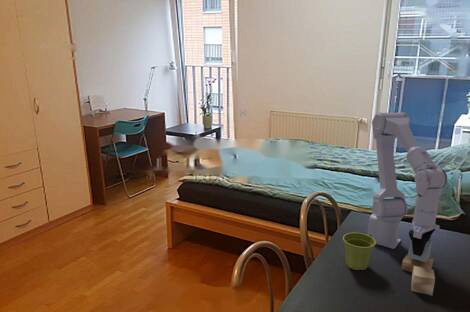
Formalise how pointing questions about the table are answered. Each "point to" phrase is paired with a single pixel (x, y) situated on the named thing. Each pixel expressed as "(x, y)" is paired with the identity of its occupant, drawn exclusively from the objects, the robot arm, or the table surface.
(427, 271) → the beech cube
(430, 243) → the grey cube
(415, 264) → the oak block
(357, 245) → the plant pot
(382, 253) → the table surface
